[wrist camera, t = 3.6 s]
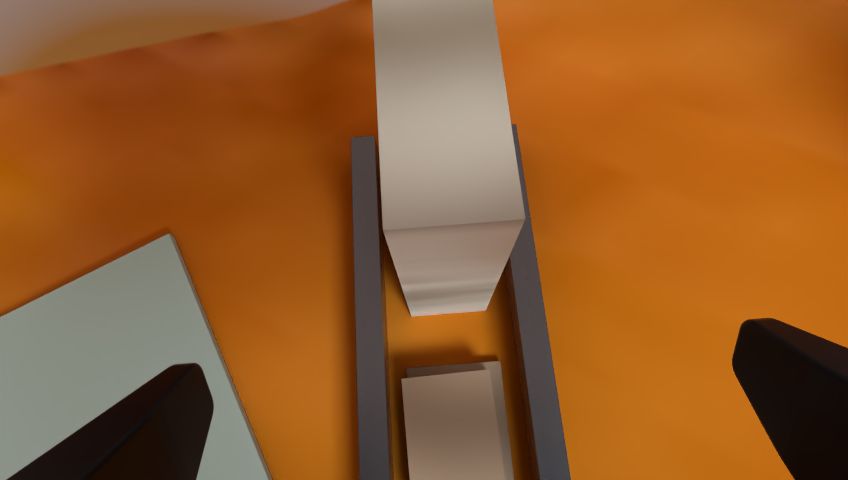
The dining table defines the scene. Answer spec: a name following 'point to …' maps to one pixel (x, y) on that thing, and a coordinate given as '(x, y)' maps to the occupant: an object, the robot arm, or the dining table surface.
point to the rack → (373, 344)
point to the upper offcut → (452, 427)
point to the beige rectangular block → (445, 152)
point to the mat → (115, 360)
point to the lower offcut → (497, 394)
